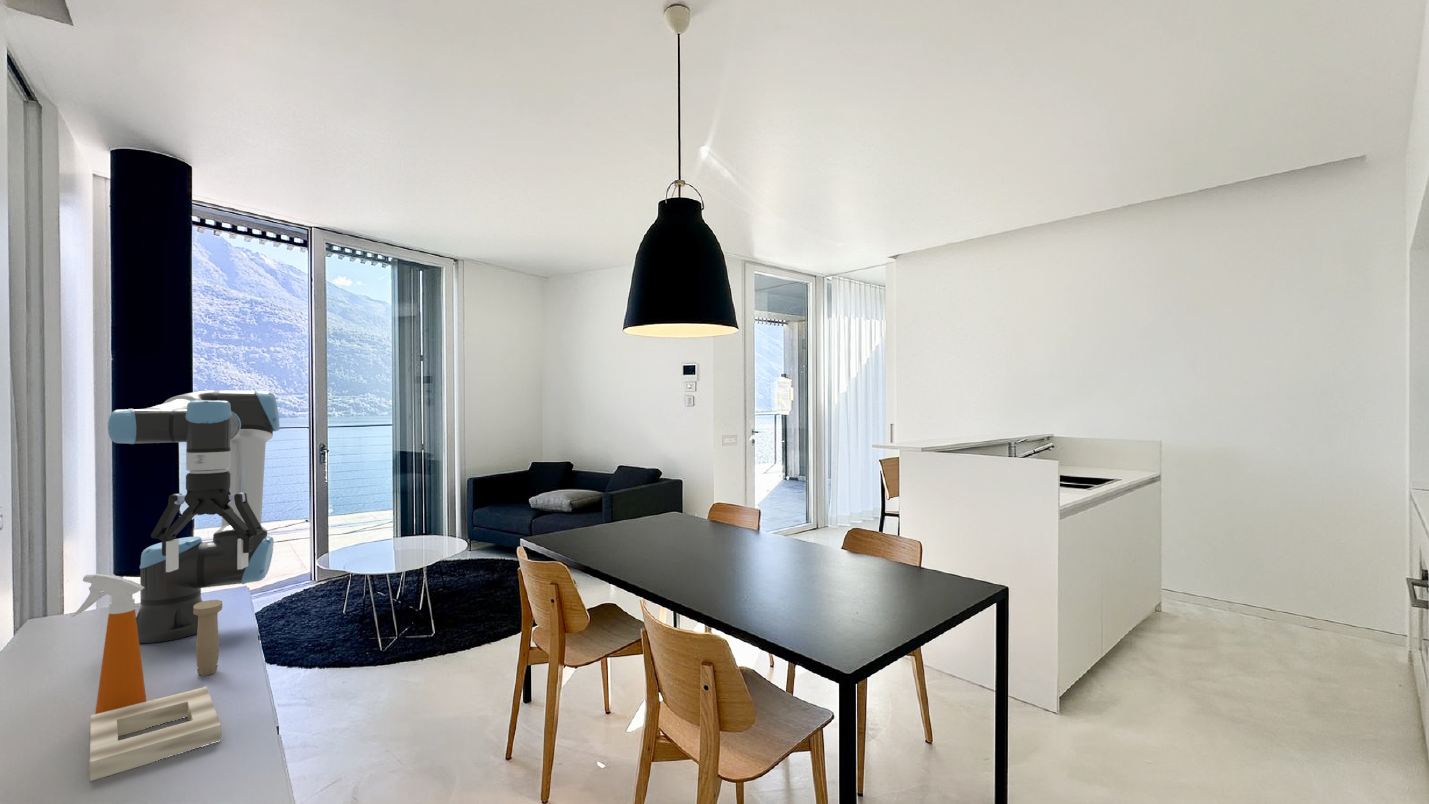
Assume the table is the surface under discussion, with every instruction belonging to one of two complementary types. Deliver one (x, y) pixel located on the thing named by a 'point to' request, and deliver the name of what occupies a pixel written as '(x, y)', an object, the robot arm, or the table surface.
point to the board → (153, 745)
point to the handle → (207, 636)
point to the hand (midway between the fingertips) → (207, 569)
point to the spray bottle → (118, 643)
